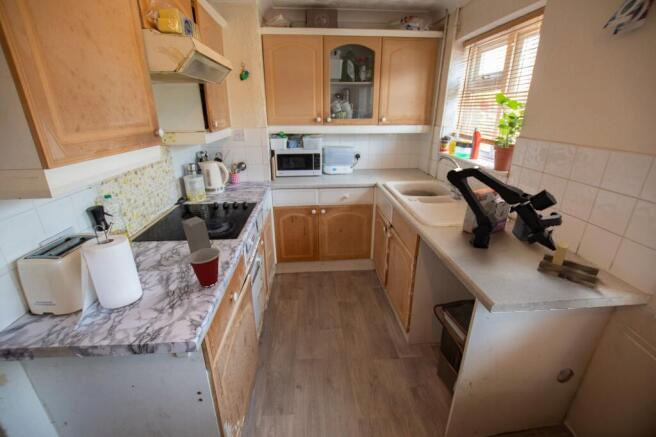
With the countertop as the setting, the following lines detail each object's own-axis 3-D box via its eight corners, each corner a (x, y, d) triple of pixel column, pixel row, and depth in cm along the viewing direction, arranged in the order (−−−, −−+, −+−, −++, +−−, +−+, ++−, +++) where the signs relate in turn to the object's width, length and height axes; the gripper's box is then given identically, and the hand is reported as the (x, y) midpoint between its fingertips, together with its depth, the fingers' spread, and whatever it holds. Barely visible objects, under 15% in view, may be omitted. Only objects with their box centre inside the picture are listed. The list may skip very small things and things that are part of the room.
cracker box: (471, 234, 144) (480, 193, 135) (461, 229, 148) (469, 190, 140) (489, 228, 150) (499, 189, 142) (479, 224, 155) (487, 186, 147)
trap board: (537, 269, 114) (539, 261, 113) (543, 259, 122) (545, 252, 120) (593, 288, 103) (596, 279, 102) (596, 276, 111) (599, 267, 109)
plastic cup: (211, 271, 112) (206, 244, 108) (230, 279, 107) (226, 251, 103) (186, 286, 104) (179, 256, 99) (206, 295, 99) (200, 265, 94)
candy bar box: (495, 226, 154) (503, 196, 147) (504, 229, 149) (512, 199, 143) (481, 229, 149) (488, 199, 143) (490, 233, 145) (497, 202, 139)
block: (550, 267, 113) (557, 246, 110) (553, 261, 117) (560, 240, 114) (559, 270, 111) (567, 248, 108) (562, 264, 115) (569, 243, 112)
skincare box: (213, 254, 125) (207, 220, 119) (196, 260, 120) (189, 225, 114) (204, 247, 130) (198, 215, 124) (188, 253, 125) (181, 219, 119)
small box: (534, 242, 136) (541, 221, 132) (519, 241, 138) (525, 220, 134) (525, 232, 146) (531, 213, 142) (511, 231, 147) (516, 212, 143)
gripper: (545, 213, 104) (574, 250, 101) (555, 201, 116) (581, 234, 113) (515, 226, 112) (541, 262, 109) (527, 214, 124) (551, 245, 121)
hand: (554, 250), depth 113 cm, fingers closed
